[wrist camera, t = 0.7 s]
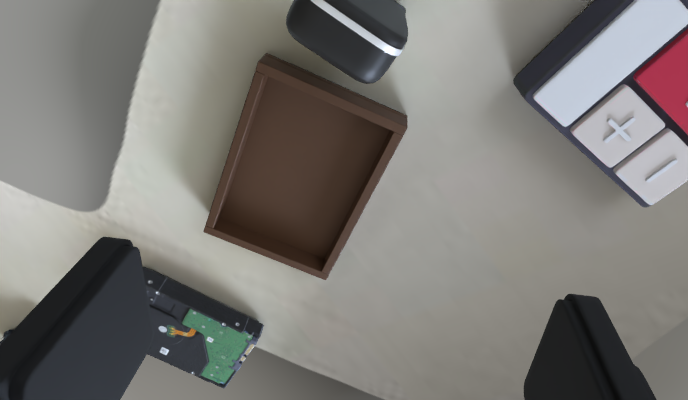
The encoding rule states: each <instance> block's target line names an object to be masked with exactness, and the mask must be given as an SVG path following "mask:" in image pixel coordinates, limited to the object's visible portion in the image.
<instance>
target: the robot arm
mask: <svg viewBox="0 0 688 400" xmlns="http://www.w3.org/2000/svg"><path fill="white" fill-rule="evenodd" d="M153 338H154V329H153V323H152V318H151V312H150V306H149V301H148V295H147V290H146V284H145V278H144V273H143V267H142V262H141V256H140V251H139V249H138V248H137V247H133V244H132V242H131V241H130V240H127V239H119V238H111V237H102V238H100V239H99V240H98V241H97V242H96V243H95V244H94V245H93V246H92V247H91V248H90V250H89V251H88V252H87V253H86V254H85V255H84V256H83V257H82V258H81V259H80V260H79V261H78V262H77V263H76V264H75V265H74V267H73V268H72V269H71V270H70V271H69V272H68V273H67V274H66V275H65V276H64V277H63V278H62V279H61V280H60V281H59V282H58V284H57V285H56V286H55V287H54V288H53V289H52V290H51V291H50V292H49V293H48V294H47V295H46V296H45V297H44V298H43V300H42V301H41V302H40V303H39V304H38V305H37V306H36V307H35V308H34V309H33V310H32V311H31V312H30V313H29V314H28V315H27V317H26V318H25V319H24V320H23V321H22V322H21V323H20V324H19V325H18V326H17V327H16V328H15V329H14V330H13V331H12V332H11V334H10V335H9V336H8V337H7V338H6V339H5V340H4V341H3V342H2V343H1V344H0V400H120V399H121V397H122V396H123V394H124V392H125V390H126V389H127V387H128V385H129V384H130V382H131V380H132V378H133V377H134V375H135V373H136V372H137V370H138V368H139V366H140V365H141V363H142V361H143V360H144V358H145V356H146V354H147V353H148V351H149V349H150V347H151V345H152V342H153ZM524 398H525V400H656V398H655V396H654V394H653V392H652V390H651V389H650V387H649V385H648V383H647V381H646V379H645V377H644V375H643V374H642V372H641V371H640V369H639V368H638V367H636V366H635V365H634V364H633V362H632V361H631V359H630V357H629V355H628V353H627V351H626V349H625V347H624V345H623V343H622V341H621V339H620V337H619V335H618V333H617V332H616V330H615V328H614V326H613V324H612V322H611V320H610V318H609V316H608V314H607V312H606V310H605V308H604V306H603V305H602V303H601V301H600V300H599V298H597V297H592V296H584V295H576V294H568V295H567V296H566V297H565V299H564V300H561V299H560V300H558V301H557V302H556V303H555V306H554V308H553V311H552V313H551V316H550V318H549V321H548V324H547V326H546V329H545V331H544V334H543V336H542V339H541V341H540V344H539V346H538V349H537V351H536V354H535V356H534V359H533V361H532V364H531V367H530V369H529V372H528V374H527V377H526V379H525V383H524Z"/></svg>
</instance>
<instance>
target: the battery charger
mask: <svg viewBox="0 0 688 400" xmlns="http://www.w3.org/2000/svg"><path fill="white" fill-rule="evenodd" d="M405 13H406V10H405V8H404V7H403V6H401V5H400V4H399V3H397V2H396V1H395V0H294V1H293V3H292V5H291V7H290V9H289V12H288V14H287V19H286V25H287V28H288V31H289V33H290V34H291V35H292V37H293V38H294V39H295V40H297V41H298V42H299V43H301V44H302V45H304V46H305V47H307V48H308V49H310V50H311V51H313V52H314V53H316V54H317V55H319V56H320V57H322V58H323V59H325V60H326V61H328V62H329V63H331V64H332V65H334V66H335V67H337V68H338V69H340V70H341V71H343V72H344V73H346V74H347V75H349V76H350V77H352V78H354V79H355V80H357V81H359V82H362V83H366V84H368V83H374V82H376V81H378V80H379V79H380V78H381V77H382V76H383V75H384V73H385V72H386V71H387V70H388V68H389V67H390V65H391V64H392V62H393V61H394V59H395V58H396V57H397V56H399V55H400V53H401V52H402V51H403V49H404V45H405V44H406V42H407V37H408V27H407V22H406V18H405Z"/></svg>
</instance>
